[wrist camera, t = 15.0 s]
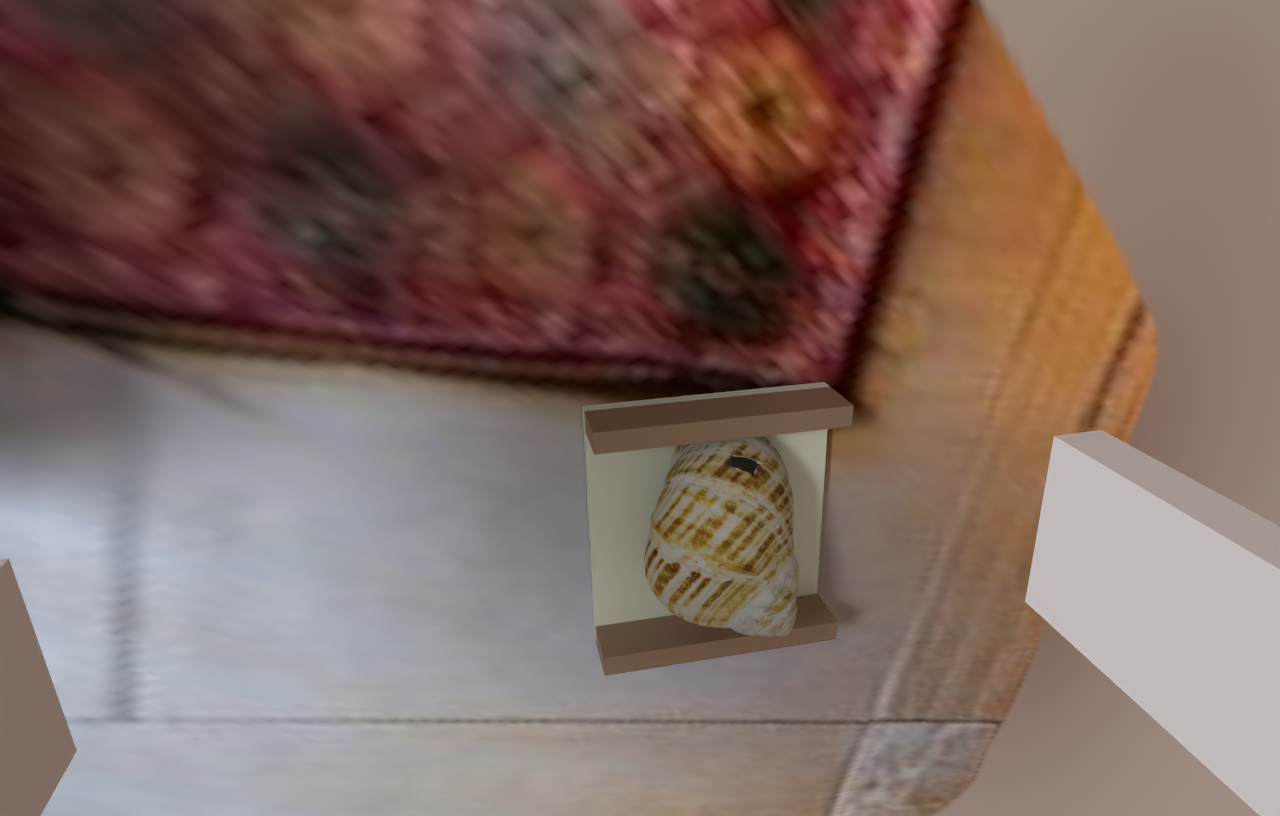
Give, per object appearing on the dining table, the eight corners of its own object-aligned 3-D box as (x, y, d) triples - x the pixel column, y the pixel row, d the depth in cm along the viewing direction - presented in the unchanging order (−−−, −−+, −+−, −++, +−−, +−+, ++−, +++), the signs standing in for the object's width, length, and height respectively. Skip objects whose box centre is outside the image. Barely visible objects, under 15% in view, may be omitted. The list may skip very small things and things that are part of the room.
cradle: (594, 634, 51) (604, 675, 47) (582, 405, 45) (593, 432, 42) (811, 602, 53) (835, 638, 50) (824, 381, 48) (853, 405, 44)
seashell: (730, 380, 45) (846, 511, 39) (774, 461, 52) (877, 582, 46) (578, 493, 45) (670, 643, 39) (644, 558, 52) (730, 692, 46)
